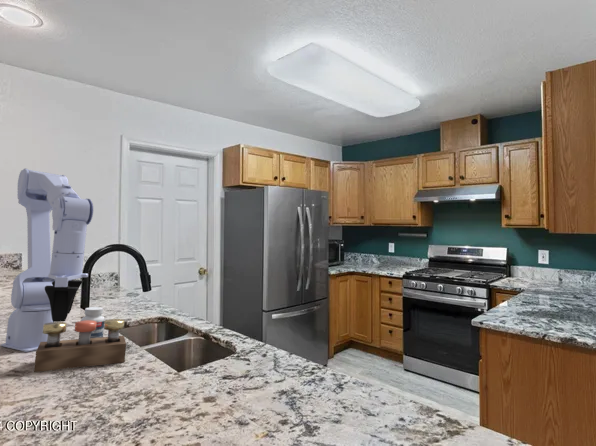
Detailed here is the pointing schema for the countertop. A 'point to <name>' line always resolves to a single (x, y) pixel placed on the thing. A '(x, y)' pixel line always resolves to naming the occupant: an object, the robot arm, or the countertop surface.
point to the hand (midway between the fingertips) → (61, 317)
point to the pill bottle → (95, 315)
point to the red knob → (85, 331)
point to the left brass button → (54, 333)
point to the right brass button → (113, 329)
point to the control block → (79, 354)
